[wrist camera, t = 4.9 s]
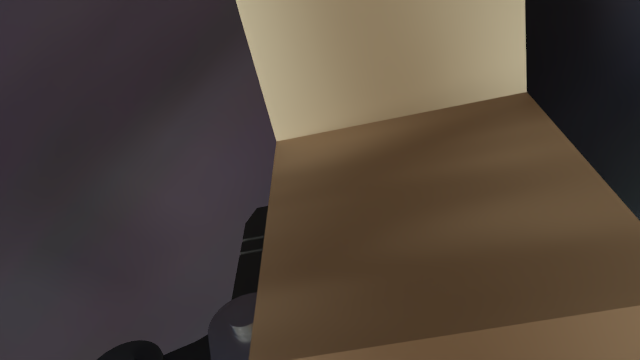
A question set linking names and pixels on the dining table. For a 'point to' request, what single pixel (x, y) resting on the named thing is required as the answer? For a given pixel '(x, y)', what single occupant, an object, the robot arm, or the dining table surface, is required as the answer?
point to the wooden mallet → (428, 194)
